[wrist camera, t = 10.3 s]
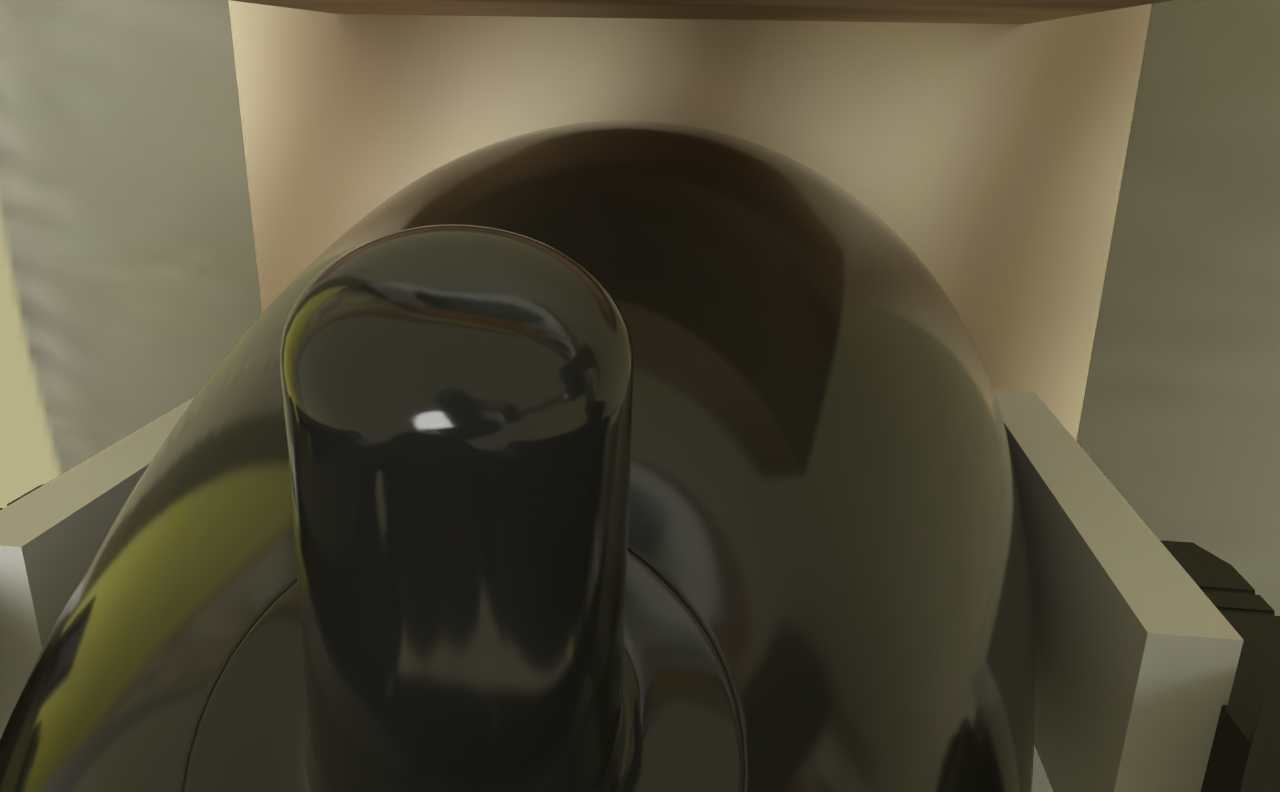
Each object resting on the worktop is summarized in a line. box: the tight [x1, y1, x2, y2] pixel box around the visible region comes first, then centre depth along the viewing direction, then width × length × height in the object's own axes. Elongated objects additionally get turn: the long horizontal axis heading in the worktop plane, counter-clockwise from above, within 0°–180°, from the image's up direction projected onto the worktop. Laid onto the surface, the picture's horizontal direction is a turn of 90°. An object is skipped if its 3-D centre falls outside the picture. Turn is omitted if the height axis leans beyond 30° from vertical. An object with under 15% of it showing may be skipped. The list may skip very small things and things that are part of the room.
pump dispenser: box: [0, 120, 1036, 792], centre depth 11 cm, size 10×10×15 cm
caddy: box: [228, 0, 1171, 440], centre depth 15 cm, size 16×17×10 cm
